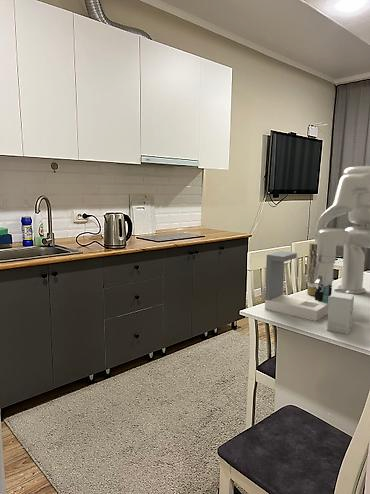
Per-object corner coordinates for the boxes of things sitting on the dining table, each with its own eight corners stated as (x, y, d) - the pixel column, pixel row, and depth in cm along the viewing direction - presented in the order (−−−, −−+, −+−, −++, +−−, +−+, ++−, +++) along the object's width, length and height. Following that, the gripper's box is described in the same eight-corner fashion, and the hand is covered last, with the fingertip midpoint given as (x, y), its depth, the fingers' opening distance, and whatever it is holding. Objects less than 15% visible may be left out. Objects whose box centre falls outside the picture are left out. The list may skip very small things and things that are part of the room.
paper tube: (322, 293, 179) (325, 241, 175) (321, 296, 173) (324, 243, 169) (308, 291, 182) (310, 240, 178) (306, 295, 176) (309, 242, 172)
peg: (316, 303, 163) (318, 281, 161) (326, 303, 163) (327, 281, 161) (319, 306, 159) (320, 283, 157) (329, 306, 159) (330, 283, 157)
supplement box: (348, 334, 128) (351, 299, 126) (326, 330, 132) (328, 296, 130) (352, 328, 135) (354, 294, 133) (330, 324, 138) (332, 291, 136)
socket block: (278, 302, 165) (280, 251, 161) (328, 313, 151) (331, 257, 147) (264, 308, 156) (266, 254, 152) (316, 321, 142) (319, 261, 138)
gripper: (324, 255, 167) (322, 292, 169) (308, 260, 154) (306, 300, 156) (341, 257, 162) (339, 295, 164) (327, 263, 149) (324, 304, 151)
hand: (323, 298), depth 160 cm, fingers open, 9 cm apart
